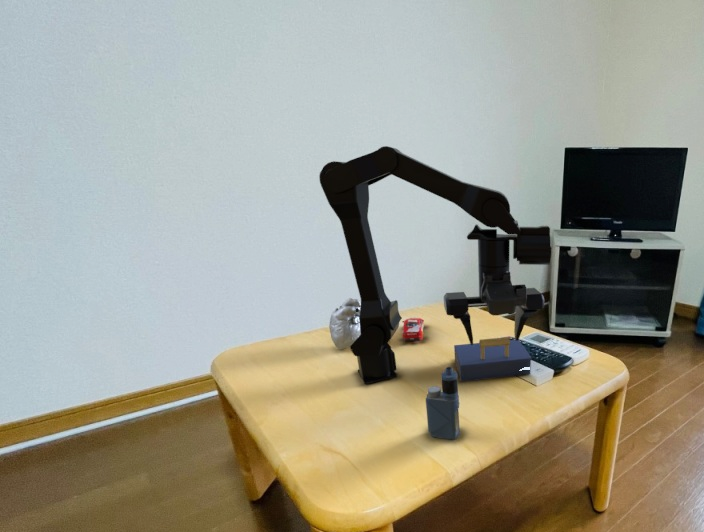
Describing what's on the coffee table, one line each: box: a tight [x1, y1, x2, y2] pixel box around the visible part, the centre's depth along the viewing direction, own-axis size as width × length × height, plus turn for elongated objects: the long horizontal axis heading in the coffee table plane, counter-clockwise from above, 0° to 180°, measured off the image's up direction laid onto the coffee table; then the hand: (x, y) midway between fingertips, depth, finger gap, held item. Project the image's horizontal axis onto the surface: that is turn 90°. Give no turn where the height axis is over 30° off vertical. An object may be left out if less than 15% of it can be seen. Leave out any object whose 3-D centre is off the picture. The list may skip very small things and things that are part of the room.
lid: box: [453, 336, 533, 368], centre depth 82 cm, size 10×15×5 cm
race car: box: [401, 317, 425, 342], centre depth 101 cm, size 13×5×4 cm, turn 9°
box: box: [453, 347, 532, 383], centre depth 84 cm, size 10×15×3 cm, turn 105°
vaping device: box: [425, 366, 461, 440], centre depth 60 cm, size 3×5×12 cm, turn 78°
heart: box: [328, 297, 361, 351], centre depth 92 cm, size 10×10×12 cm
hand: (494, 342), depth 79 cm, fingers open, 9 cm apart
